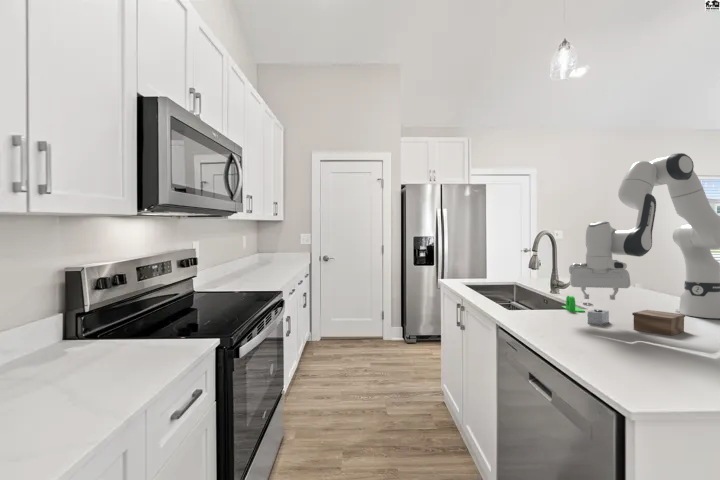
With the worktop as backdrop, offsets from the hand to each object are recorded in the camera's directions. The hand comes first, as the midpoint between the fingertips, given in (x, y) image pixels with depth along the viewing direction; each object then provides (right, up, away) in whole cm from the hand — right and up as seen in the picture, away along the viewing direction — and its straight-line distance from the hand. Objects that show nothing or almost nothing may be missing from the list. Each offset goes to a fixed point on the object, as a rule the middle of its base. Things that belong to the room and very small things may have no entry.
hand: (599, 299), depth 157 cm
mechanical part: (+2, -10, +24) cm, 26 cm away
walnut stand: (+15, -10, -11) cm, 21 cm away
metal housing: (0, -10, 0) cm, 10 cm away
